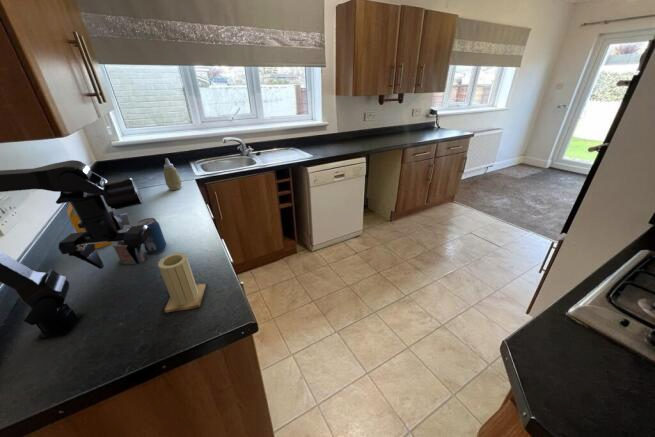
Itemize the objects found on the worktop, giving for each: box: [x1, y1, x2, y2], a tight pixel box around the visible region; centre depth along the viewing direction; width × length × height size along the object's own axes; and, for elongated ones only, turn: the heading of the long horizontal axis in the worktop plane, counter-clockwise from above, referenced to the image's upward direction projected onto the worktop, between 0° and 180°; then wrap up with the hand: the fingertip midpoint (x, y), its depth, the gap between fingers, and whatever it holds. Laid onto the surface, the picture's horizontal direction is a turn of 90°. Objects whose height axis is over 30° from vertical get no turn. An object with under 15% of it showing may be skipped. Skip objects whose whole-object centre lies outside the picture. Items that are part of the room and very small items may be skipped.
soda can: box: [136, 217, 167, 255], centre depth 99 cm, size 7×7×12 cm
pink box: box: [111, 240, 146, 265], centre depth 93 cm, size 8×3×10 cm, turn 92°
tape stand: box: [164, 283, 207, 314], centre depth 78 cm, size 9×9×5 cm
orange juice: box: [66, 203, 112, 250], centre depth 102 cm, size 8×9×20 cm
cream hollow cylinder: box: [157, 252, 198, 305], centre depth 75 cm, size 7×7×13 cm
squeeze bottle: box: [163, 157, 182, 191], centre depth 154 cm, size 8×8×18 cm
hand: (120, 265), depth 72 cm, fingers open, 9 cm apart
